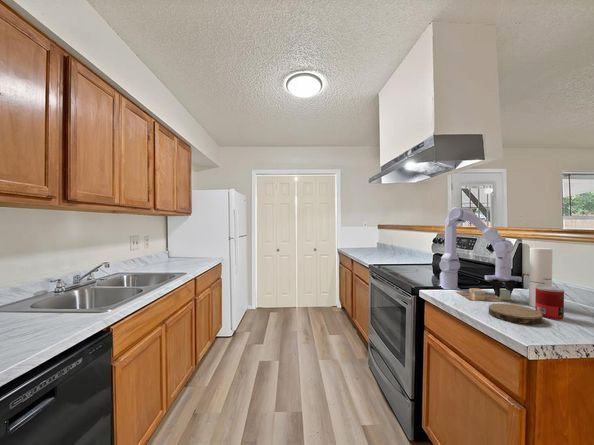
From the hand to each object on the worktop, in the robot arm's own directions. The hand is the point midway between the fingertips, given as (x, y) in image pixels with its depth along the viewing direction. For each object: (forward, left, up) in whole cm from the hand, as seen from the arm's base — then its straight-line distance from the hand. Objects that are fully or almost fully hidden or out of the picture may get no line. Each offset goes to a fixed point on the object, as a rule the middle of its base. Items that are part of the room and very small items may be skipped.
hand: (502, 296), depth 125 cm
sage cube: (0, 0, -1) cm, 1 cm away
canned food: (+20, +5, -2) cm, 21 cm away
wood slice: (+23, -9, -2) cm, 25 cm away
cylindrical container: (+8, +10, -2) cm, 13 cm away
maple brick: (0, -11, -1) cm, 11 cm away
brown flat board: (-3, -6, -2) cm, 7 cm away
